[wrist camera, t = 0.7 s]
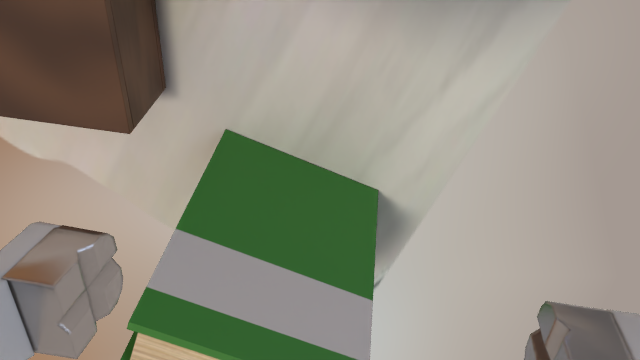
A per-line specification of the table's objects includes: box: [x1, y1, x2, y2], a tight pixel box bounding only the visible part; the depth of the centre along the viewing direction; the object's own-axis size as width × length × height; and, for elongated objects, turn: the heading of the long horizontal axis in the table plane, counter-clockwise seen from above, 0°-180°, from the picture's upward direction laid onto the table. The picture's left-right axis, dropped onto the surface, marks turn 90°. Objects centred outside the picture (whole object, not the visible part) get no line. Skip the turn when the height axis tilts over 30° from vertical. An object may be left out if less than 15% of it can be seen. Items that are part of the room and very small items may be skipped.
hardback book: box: [121, 130, 378, 360], centre depth 46 cm, size 18×7×24 cm, turn 67°
